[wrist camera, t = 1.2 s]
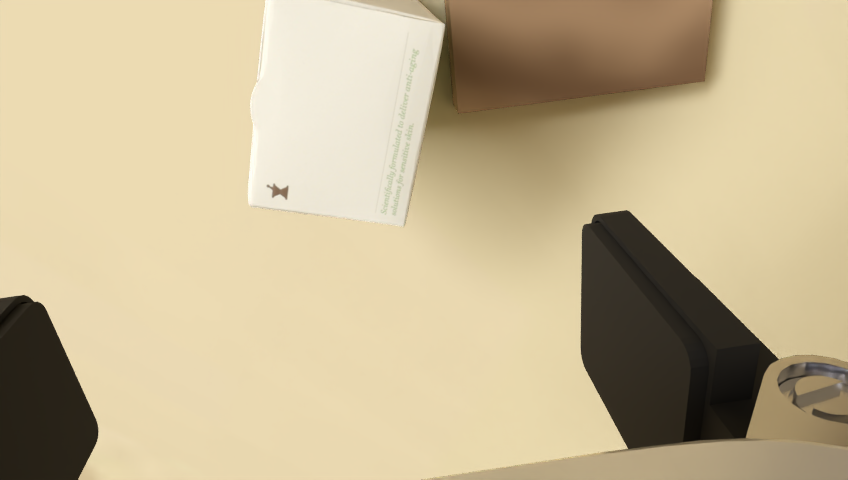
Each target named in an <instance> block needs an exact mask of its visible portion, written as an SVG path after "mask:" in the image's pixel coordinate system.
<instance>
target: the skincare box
mask: <svg viewBox="0 0 848 480" xmlns="http://www.w3.org/2000/svg"><path fill="white" fill-rule="evenodd" d="M444 31H445V24H444V23H442V22H441V21H440V20H439V19H438V18H437V17H435V16H434V15H433V14H432V13H431V12H430V11H429V10H428V9H427V8H426V7H425V6H424V5H423V4H421V3H420V2H419V1H418V0H265V10H264V19H263V28H262V37H261V46H260V56H259V66H258V76H257V84H256V85H255V87H254V90H253V93H252V96H251V101H250V111H251V118H252V121H253V124H254V125H253V136H252V148H251V160H250V172H249V185H248V203H249V205H250V207H255V208H262V209H269V210H277V211H285V212H292V213H301V214H309V215H317V216H325V217H334V218H342V219H350V220H358V221H366V222H373V223H380V224H387V225H394V226H401V227H404V226H405V223H406V219H407V214H408V209H409V205H410V200H411V196H412V191H413V186H414V182H415V177H416V172H417V167H418V163H419V158H420V153H421V148H422V143H423V139H424V134H425V129H426V124H427V119H428V114H429V109H430V105H431V100H432V95H433V90H434V85H435V80H436V75H437V70H438V65H439V60H440V54H441V49H442V43H443V37H444Z"/></svg>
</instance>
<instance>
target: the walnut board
mask: <svg viewBox="0 0 848 480" xmlns="http://www.w3.org/2000/svg"><path fill="white" fill-rule="evenodd" d="M712 3H713V0H445V10H446V22H447V34H448V46H449V58H450V70H451V82H452V94H453V105H454V107H455V109H456V110H457V112H458V114H459V113H466V112H474V111H481V110H489V109H497V108H504V107H512V106H519V105H527V104H534V103H542V102H550V101H557V100H565V99H572V98H580V97H588V96H595V95H603V94H610V93H618V92H625V91H633V90H641V89H648V88H656V87H663V86H671V85H679V84H686V83H694V82H701V81H705V71H706V61H707V52H708V42H709V32H710V22H711V12H712Z"/></svg>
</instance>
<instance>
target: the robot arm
mask: <svg viewBox="0 0 848 480" xmlns="http://www.w3.org/2000/svg"><path fill="white" fill-rule="evenodd" d="M581 355H582V360H583V364H584V367H585V369H586V371H587V373H588V375H589V376H590V378H591V380H592V382H593V384H594V386H595V388H596V390H597V391H598V393H599V395H600V397H601V399H602V401H603V403H604V404H605V406H606V408H607V410H608V412H609V414H610V416H611V418H612V419H613V421H614V423H615V425H616V427H617V429H618V431H619V432H620V434H621V436H622V438H623V440H624V442H625V444H626V445H627V447H628V449H624V450H616V451H608V452H601V453H594V454H588V455H581V456H575V457H568V458H561V459H555V460H548V461H542V462H535V463H528V464H522V465H515V466H509V467H502V468H495V469H489V470H482V471H476V472H469V473H462V474H456V475H449V476H443V477H436V478H429V479H423V480H848V362H845V361H841V360H838V359H835V358H830V357H823V356H817V355H795V356H790V357H786V358H781V359H778V358H777V357H776V356H775V355H774V354H773V353H772V352H771V351H770V350H769V349H768V348H767V347H766V346H765V345H764V344H763V343H762V342H761V341H760V340H759V339H758V338H757V337H756V336H755V335H754V334H753V333H752V332H751V331H750V330H749V329H748V328H747V327H746V326H745V325H744V324H743V323H742V322H741V321H740V320H739V319H738V318H737V317H736V316H735V315H734V314H733V313H732V312H731V311H730V310H729V309H728V308H727V307H726V306H725V305H724V304H723V303H722V302H721V301H720V300H719V299H718V298H717V297H716V296H715V295H714V294H713V293H712V292H711V291H710V290H709V289H708V288H707V287H706V286H705V285H704V284H703V283H702V282H701V281H700V280H699V279H697V278H696V277H695V276H694V275H693V274H692V273H691V272H690V271H689V270H688V269H687V268H686V267H685V266H684V265H683V264H682V263H681V262H680V261H679V260H678V259H677V258H676V257H675V256H674V255H673V254H672V253H671V252H670V251H669V250H668V249H667V248H666V247H665V246H664V245H663V244H662V243H661V242H660V241H659V240H658V239H657V238H656V237H655V236H654V235H653V234H652V233H651V232H649V231H648V230H647V229H646V228H645V227H644V226H643V225H642V224H641V223H640V222H639V221H638V220H637V219H636V218H635V217H634V216H633V215H632V214H631V213H630V212H629V211H627V210H626V211H619V212H611V213H604V214H597V215H594V217H593V219H592V223H591V224H585V225H584V226H583V229H582V284H581ZM97 439H98V424H97V421H96V419H95V416H94V414H93V412H92V410H91V408H90V405H89V403H88V401H87V399H86V397H85V394H84V392H83V390H82V388H81V386H80V383H79V381H78V379H77V377H76V375H75V372H74V370H73V368H72V366H71V364H70V361H69V359H68V357H67V355H66V353H65V350H64V348H63V346H62V344H61V341H60V339H59V337H58V335H57V333H56V330H55V328H54V326H53V324H52V322H51V319H50V317H49V315H48V313H47V311H46V309H45V307H44V306H43V305H42V304H41V303H39V302H34V301H33V300H32V299H31V298H29V297H28V296H25V295H22V296H14V297H7V298H0V480H78V478H79V476H80V474H81V472H82V470H83V468H84V466H85V464H86V462H87V460H88V458H89V457H90V455H91V453H92V451H93V449H94V447H95V445H96V442H97Z"/></svg>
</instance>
